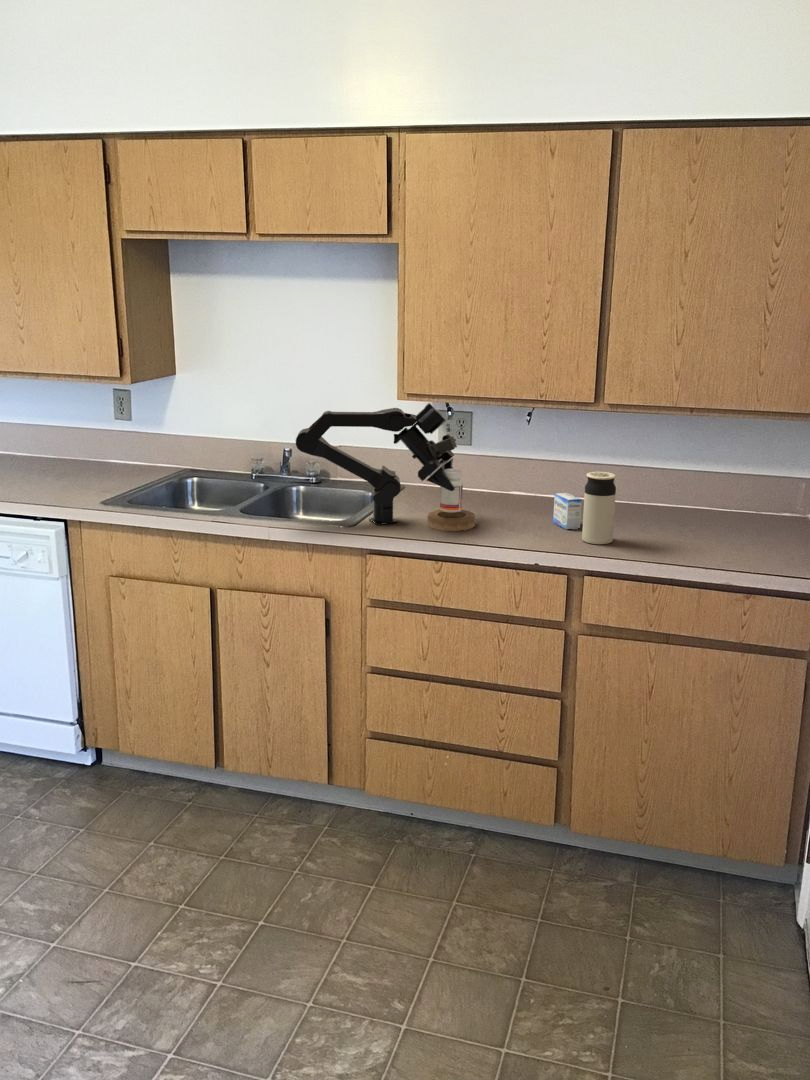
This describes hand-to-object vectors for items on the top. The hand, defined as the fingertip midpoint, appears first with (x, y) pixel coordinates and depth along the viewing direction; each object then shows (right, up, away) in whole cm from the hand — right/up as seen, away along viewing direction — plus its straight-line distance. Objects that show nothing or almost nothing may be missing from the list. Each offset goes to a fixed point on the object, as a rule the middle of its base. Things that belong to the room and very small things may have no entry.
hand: (456, 487), depth 278 cm
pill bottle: (-1, -6, +2) cm, 7 cm away
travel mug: (+37, -15, -11) cm, 41 cm away
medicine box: (+31, -11, +3) cm, 33 cm away
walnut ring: (-1, -10, +3) cm, 11 cm away
